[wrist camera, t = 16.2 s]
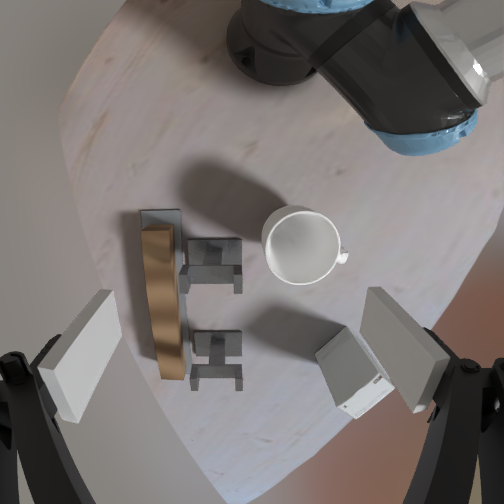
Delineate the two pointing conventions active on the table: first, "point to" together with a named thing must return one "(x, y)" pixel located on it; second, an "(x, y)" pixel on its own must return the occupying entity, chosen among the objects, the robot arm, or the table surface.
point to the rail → (164, 299)
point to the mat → (175, 218)
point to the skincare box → (352, 374)
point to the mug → (301, 245)
